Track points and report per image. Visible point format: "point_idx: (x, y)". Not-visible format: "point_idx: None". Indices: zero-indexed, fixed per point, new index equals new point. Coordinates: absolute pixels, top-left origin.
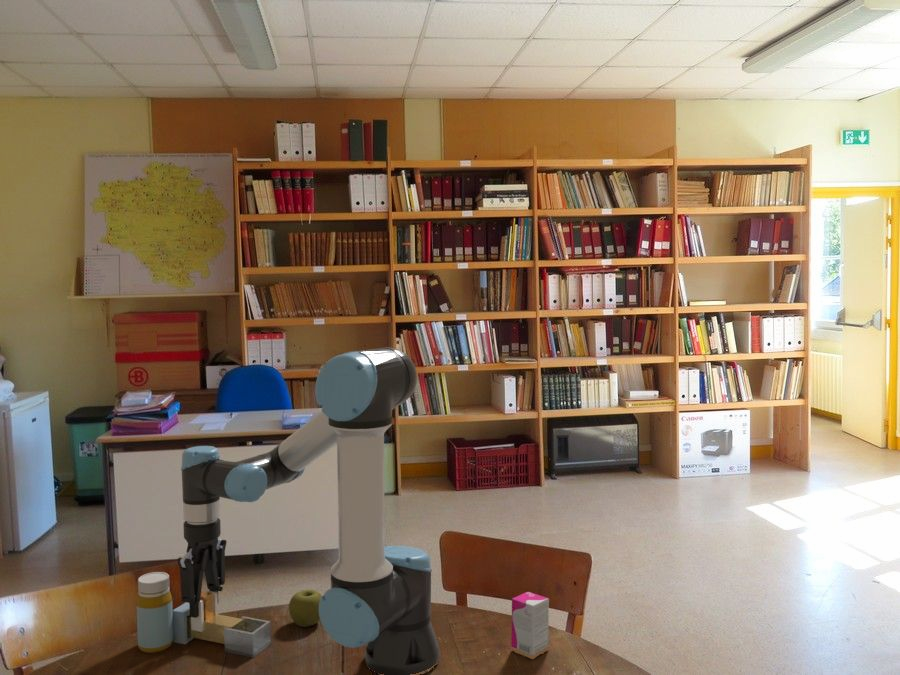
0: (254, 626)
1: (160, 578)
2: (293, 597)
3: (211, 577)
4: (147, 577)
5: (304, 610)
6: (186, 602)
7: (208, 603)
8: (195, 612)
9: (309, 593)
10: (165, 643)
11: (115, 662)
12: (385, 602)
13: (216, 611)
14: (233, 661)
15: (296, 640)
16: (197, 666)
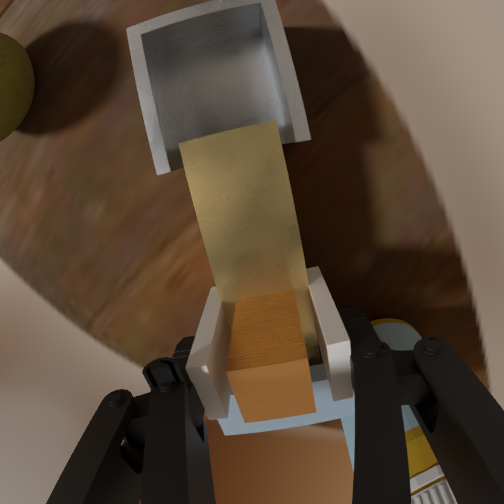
0: (163, 98)
1: None
2: None
3: (195, 464)
4: None
5: (3, 42)
6: (275, 428)
7: (273, 333)
8: (365, 319)
9: None
10: (394, 325)
11: (464, 352)
12: None
13: (214, 307)
14: (326, 65)
15: (99, 20)
16: (412, 149)
